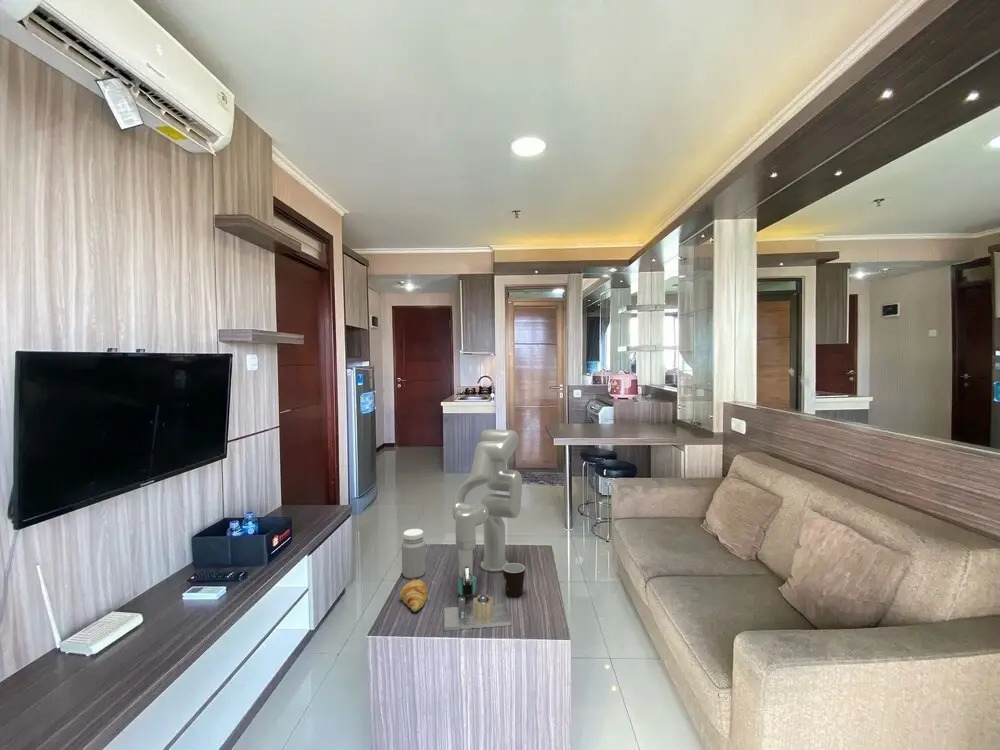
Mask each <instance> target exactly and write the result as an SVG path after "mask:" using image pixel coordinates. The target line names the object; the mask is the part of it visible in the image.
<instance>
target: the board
mask: <svg viewBox="0 0 1000 750" xmlns="http://www.w3.org/2000/svg"><path fill="white" fill-rule="evenodd" d="M457 602H458V604H457V605H458V606H455V607H453V606H452V607H451V606H449V607H444V613H443V614H444V616H443V617H444V624H443V628H444V629H443V630H444V632H449V631H450V632H451V631H459V630H460V629H462V630H471V629H472V628H474V629H483V628H484V627H486V628H495V627H506V626H511V619H510V615H509V612H508V608H507V604H506V603H505V602H503V603H494V598H493V596H489V595H488V594H478V595H477V596H476V597H473V603H472V604H473V605H469V606H468V605H466V596H459V597H458V601H457ZM484 629H485V628H484ZM472 630H473V629H472ZM460 631H461V630H460Z"/></svg>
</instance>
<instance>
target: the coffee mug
mask: <svg viewBox="0 0 1000 750" xmlns="http://www.w3.org/2000/svg"><path fill="white" fill-rule="evenodd" d="M525 570H526V567H525V565H523V564H522V563H518V562H511V563H509V564H506V565H504V566H503V571H502V574H503V575H502V576H503V583H504V592H505V596H506V597H508V598H511V599H518V598H521V597H522V596H523V593H524V592H523V590H524V582H525V574H526V573H525V572H526V571H525Z"/></svg>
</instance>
